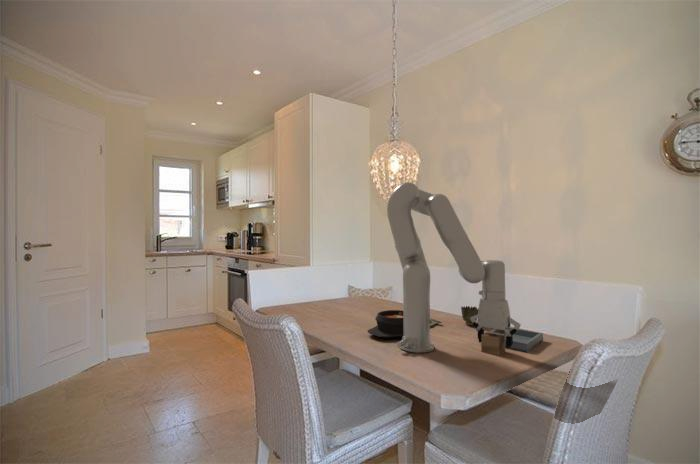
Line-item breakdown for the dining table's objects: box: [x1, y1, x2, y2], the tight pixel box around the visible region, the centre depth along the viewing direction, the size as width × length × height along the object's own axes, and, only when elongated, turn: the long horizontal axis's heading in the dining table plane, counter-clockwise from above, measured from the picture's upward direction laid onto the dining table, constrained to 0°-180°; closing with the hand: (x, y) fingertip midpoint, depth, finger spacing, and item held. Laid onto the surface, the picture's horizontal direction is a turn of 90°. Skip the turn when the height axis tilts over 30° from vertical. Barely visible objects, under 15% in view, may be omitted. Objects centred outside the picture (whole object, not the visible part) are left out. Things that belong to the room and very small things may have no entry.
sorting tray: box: [489, 326, 544, 353], centre depth 139 cm, size 18×16×3 cm
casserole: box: [367, 309, 403, 339], centre depth 150 cm, size 25×19×8 cm
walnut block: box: [480, 330, 506, 357], centre depth 128 cm, size 6×6×6 cm
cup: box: [460, 305, 479, 327], centre depth 163 cm, size 8×7×8 cm
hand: (494, 344), depth 128 cm, fingers open, 9 cm apart
